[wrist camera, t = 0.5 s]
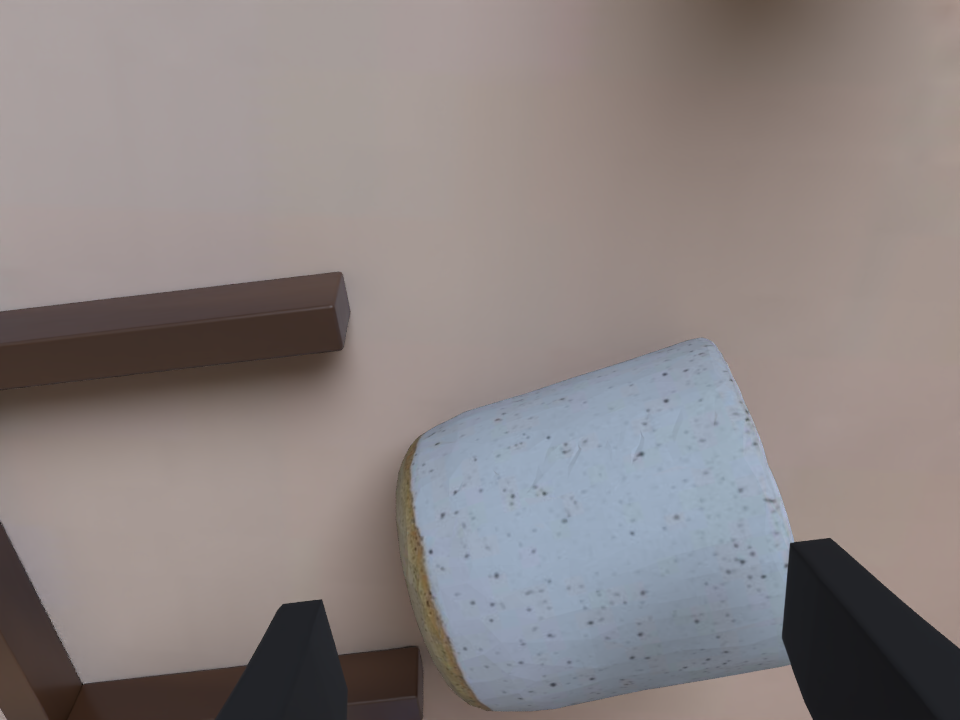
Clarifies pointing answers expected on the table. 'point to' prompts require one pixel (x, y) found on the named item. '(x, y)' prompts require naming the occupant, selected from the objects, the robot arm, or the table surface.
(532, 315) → the table surface
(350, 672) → the frame
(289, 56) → the table surface
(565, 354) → the table surface
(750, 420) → the ceramic mug
